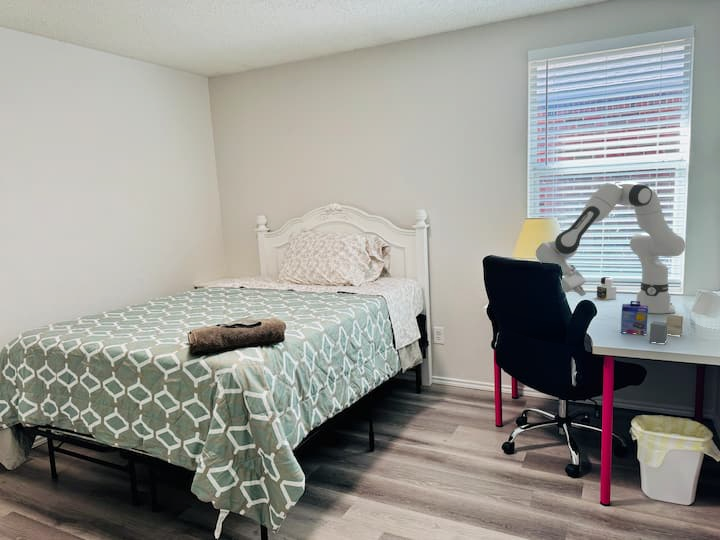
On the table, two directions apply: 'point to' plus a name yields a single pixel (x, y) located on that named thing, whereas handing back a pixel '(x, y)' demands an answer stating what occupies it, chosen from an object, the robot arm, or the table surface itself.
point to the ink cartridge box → (634, 318)
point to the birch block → (674, 324)
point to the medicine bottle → (606, 289)
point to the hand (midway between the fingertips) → (584, 295)
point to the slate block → (658, 332)
